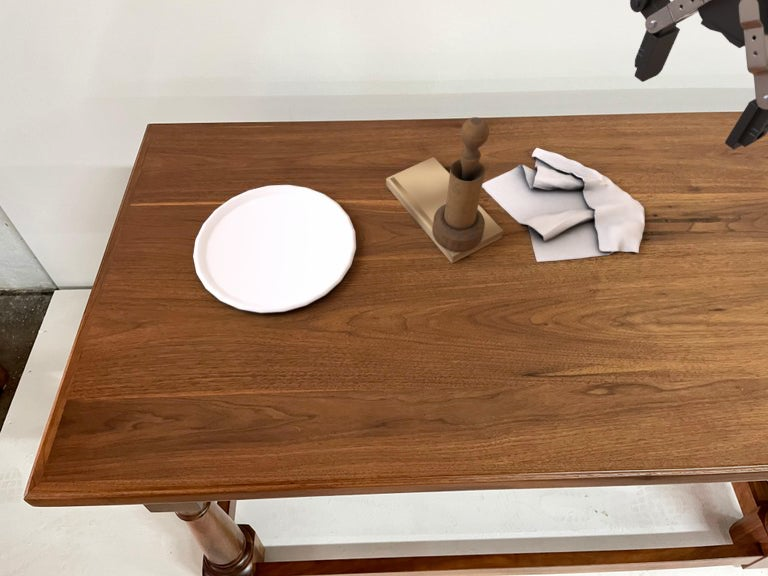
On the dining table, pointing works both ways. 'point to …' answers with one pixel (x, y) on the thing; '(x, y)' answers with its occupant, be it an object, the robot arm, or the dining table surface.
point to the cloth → (569, 209)
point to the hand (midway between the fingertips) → (690, 108)
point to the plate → (274, 249)
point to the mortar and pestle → (464, 194)
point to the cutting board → (433, 201)
